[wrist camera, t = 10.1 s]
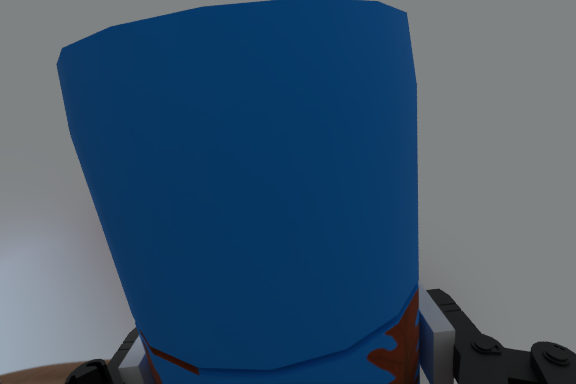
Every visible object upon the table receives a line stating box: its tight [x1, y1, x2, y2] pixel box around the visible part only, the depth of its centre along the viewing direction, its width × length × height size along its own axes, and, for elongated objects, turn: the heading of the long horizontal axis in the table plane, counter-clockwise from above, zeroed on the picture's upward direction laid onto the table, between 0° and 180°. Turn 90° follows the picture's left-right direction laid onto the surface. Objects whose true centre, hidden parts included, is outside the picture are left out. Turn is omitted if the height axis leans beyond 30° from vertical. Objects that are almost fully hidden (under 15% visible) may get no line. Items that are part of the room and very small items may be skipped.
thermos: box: [57, 0, 420, 384], centre depth 14 cm, size 11×11×25 cm
